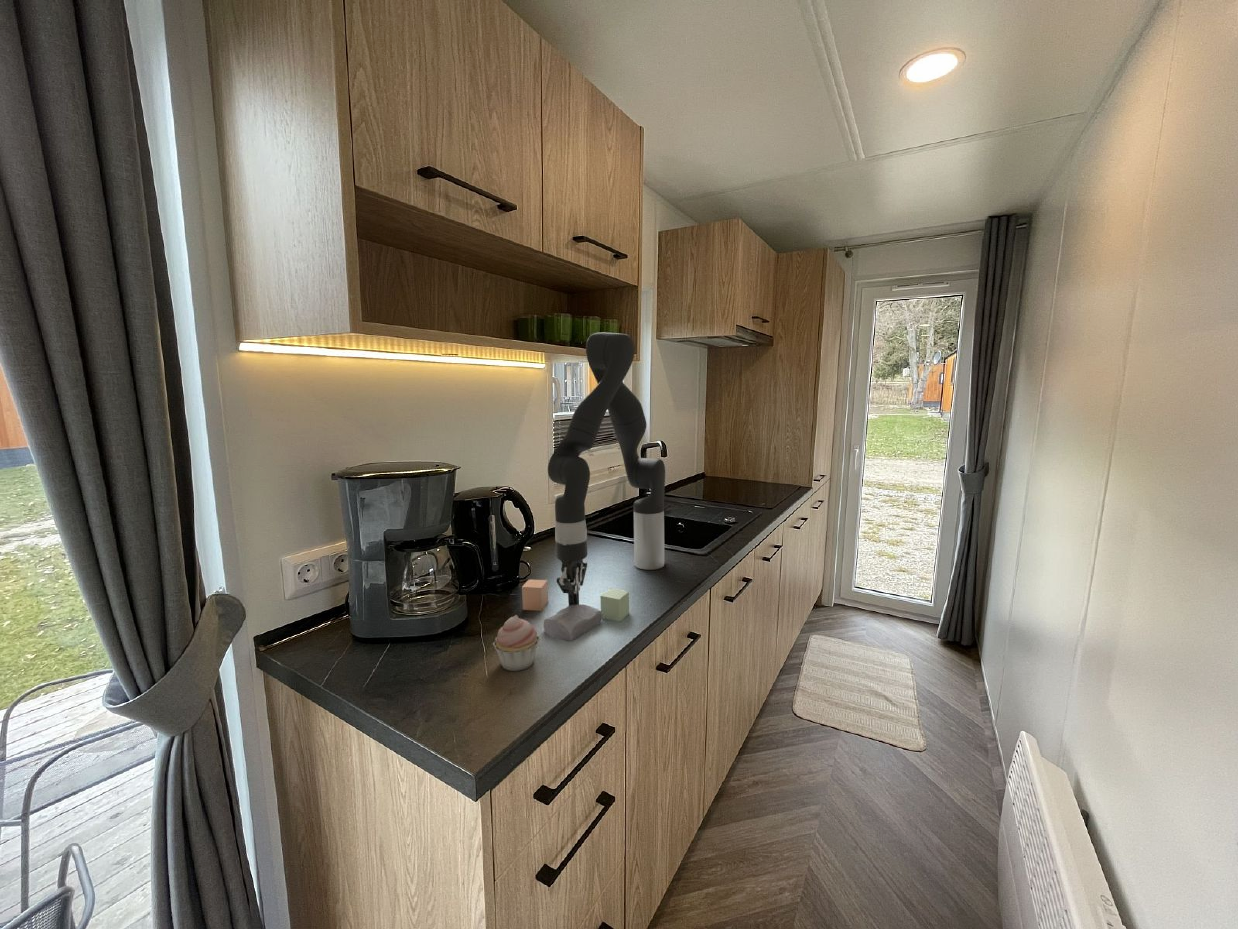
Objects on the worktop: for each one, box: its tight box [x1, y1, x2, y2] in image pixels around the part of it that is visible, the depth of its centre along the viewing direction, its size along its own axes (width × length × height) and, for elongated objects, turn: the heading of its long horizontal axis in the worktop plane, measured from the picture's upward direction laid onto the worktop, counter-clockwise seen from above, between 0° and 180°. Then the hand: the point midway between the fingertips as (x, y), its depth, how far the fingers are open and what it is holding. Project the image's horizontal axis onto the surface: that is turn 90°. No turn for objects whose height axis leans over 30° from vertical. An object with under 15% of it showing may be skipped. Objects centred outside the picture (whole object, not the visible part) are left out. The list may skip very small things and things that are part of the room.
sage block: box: [599, 588, 630, 622], centre depth 120 cm, size 5×5×6 cm
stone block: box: [543, 604, 603, 642], centre depth 114 cm, size 12×5×10 cm
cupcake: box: [492, 614, 542, 672], centre depth 99 cm, size 9×9×10 cm
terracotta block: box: [521, 578, 549, 612], centre depth 126 cm, size 5×5×6 cm
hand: (573, 606), depth 122 cm, fingers closed
